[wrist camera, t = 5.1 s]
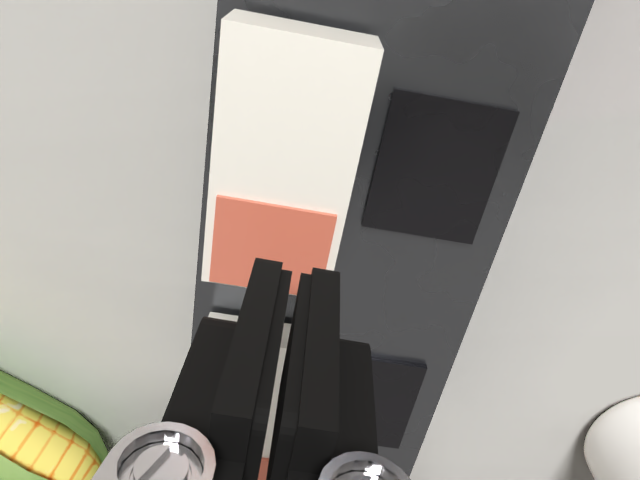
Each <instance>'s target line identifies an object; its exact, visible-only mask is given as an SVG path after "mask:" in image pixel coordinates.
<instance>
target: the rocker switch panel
mask: <svg viewBox="0 0 640 480" xmlns="http://www.w3.org/2000/svg"><path fill="white" fill-rule="evenodd" d="M593 3H594V0H218V3H217V16H216V29H215V42H214V55H213V68H212V81H211V94H210V107H209V120H208V133H207V146H206V159H205V172H204V185H203V198H202V211H201V224H200V237H199V249H198V262H197V275H196V288H195V301H194V314H193V327H192V340H191V344H192V342H193V339H194V337H195V334H196V331H197V329H198V326H199V324H200V322H201V319H202V318H203V317H204V316H205V317H208V316H209V313H210V312H216V313H222V314H229V315H236V316H239V313H240V310H241V306H242V303H243V299H244V296H245V292H246V289H247V288H244V287H238V286H232V285H225V284H219V283H212V282H206V281H201V276H202V263H203V250H204V237H205V224H206V211H207V198H208V185H209V172H210V159H211V146H212V133H213V120H214V107H215V94H216V81H217V68H218V55H219V42H220V29H221V19H222V18H223V17H224V16H226V15H227V14H228V13H230V12H231V11H232V10H233V9H239V10H245V11H250V12H255V13H260V14H266V15H271V16H276V17H281V18H286V19H292V20H297V21H302V22H307V23H313V24H318V25H323V26H328V27H333V28H339V29H344V30H349V31H354V32H360V33H365V34H370V35H375V36H378V37H379V39H380V42H381V44H382V46H383V48H384V53H383V57H382V61H381V66H380V70H379V75H378V79H377V83H376V88H375V92H374V97H373V101H372V105H371V110H370V114H369V119H368V123H367V127H366V132H365V136H364V141H363V145H362V149H361V154H360V158H359V163H358V167H357V171H356V176H355V180H354V185H353V189H352V193H351V198H350V202H349V207H348V211H347V215H346V220H345V224H344V229H343V233H342V237H341V242H340V246H339V251H338V255H337V259H336V264H335V268H334V271H338V272H340V339H345V340H351V341H357V342H363V343H369V345H370V348H371V358H372V373H373V387H374V401H375V415H376V429H377V443H378V455H380V456H382V457H384V458H387V459H389V460H390V461H392V462H393V463H394V464H396V465H397V466H398V467H400V468H401V469H402V470H403V471H404V472H405V473H406V475H407V476H408V477H409V476H410V474H411V471H412V468H413V466H414V463H415V461H416V458H417V456H418V453H419V450H420V448H421V445H422V443H423V440H424V438H425V435H426V432H427V430H428V427H429V425H430V422H431V420H432V417H433V414H434V412H435V409H436V407H437V404H438V402H439V399H440V396H441V394H442V391H443V389H444V386H445V384H446V381H447V378H448V376H449V373H450V371H451V368H452V365H453V363H454V360H455V358H456V355H457V353H458V350H459V347H460V345H461V342H462V340H463V337H464V335H465V332H466V329H467V327H468V324H469V322H470V319H471V317H472V314H473V311H474V309H475V306H476V304H477V301H478V299H479V296H480V293H481V291H482V288H483V286H484V283H485V281H486V278H487V275H488V273H489V270H490V268H491V265H492V263H493V260H494V257H495V255H496V252H497V250H498V247H499V245H500V242H501V239H502V237H503V234H504V232H505V229H506V227H507V224H508V221H509V219H510V216H511V214H512V211H513V208H514V206H515V203H516V201H517V198H518V196H519V193H520V190H521V188H522V185H523V183H524V180H525V178H526V175H527V172H528V170H529V167H530V165H531V162H532V160H533V157H534V154H535V152H536V149H537V147H538V144H539V142H540V139H541V136H542V134H543V131H544V129H545V126H546V124H547V121H548V118H549V116H550V113H551V111H552V108H553V106H554V103H555V100H556V98H557V95H558V93H559V90H560V88H561V85H562V82H563V80H564V77H565V75H566V72H567V70H568V67H569V64H570V62H571V59H572V57H573V54H574V51H575V49H576V46H577V44H578V41H579V39H580V36H581V33H582V31H583V28H584V26H585V23H586V21H587V18H588V15H589V13H590V10H591V8H592V5H593ZM295 302H296V295H290V294H289V295H288V302H287V308H286V314H285V320H284V323H288V324H291V323H292V318H293V312H294V307H295Z"/></svg>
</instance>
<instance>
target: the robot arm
mask: <svg viewBox="0 0 640 480" xmlns="http://www.w3.org/2000/svg"><path fill="white" fill-rule="evenodd" d="M282 265H283V262H279V261H273V260H267V259H262V258H255V261H254V265H253V268H252V272H251V275H250V278H249V282H248V285H247V289H246V292H245V296H244V299H243V303H242V306H241V310H240V313H239V316H238V320H237V322H235V321H229V320H223V319H217V318H211V317H205V316H204V317H203V318H202V319H201V322H200V324H199V326H198V329H197V331H196V334H195V337H194V339H193V342H192V344H191V347H190V349H189V352H188V355H187V357H186V360H185V362H184V365H183V367H182V370H181V373H180V375H179V378H178V380H177V383H176V385H175V388H174V391H173V393H172V396H171V398H170V401H169V403H168V406H167V409H166V411H165V414H164V416H163V419H162V421H161V422H157V423H150V424H148V425H145V426H142V427H139V428H136V429H134V430H133V431H131V432H130V433H128V434H127V435H125V436H123V437H122V438H121V439H120V440H119V441H118V442H117V444H116V445H115V446H114V447H113V448H112V449H111V451H110V452H109V453H108V455H107V456H106V458H105V459H104V461H103V462H102V464H101V465H100V467H99V468H98V470H97V471H96V473H95V474H94V476H93V477H92V479H91V480H258V475H259V470H260V464H261V459H262V453H263V448H264V442H265V437H266V431H267V426H268V420H269V414H270V408H271V402H272V395H273V389H274V383H275V377H276V370H277V364H278V358H279V352H280V345H281V339H282V333H283V327H284V320H285V314H286V308H287V302H288V295H289V289H290V283H291V277H292V271H289V270H283V269H282ZM266 480H411V479H410V478H409V477H408V476H407V475H406V473H405V472H404V471H403V470H402V469H401V468H400V467H398V466H397V465H396V464H394V463H393V462H392V461H390V460H389V459H387V458H384V457H382V456H380V455H378V443H377V429H376V415H375V401H374V387H373V373H372V358H371V348H370V345H369V343H363V342H357V341H351V340H345V339H340V272H338V271H332V270H326V269H320V268H314V267H313V269H312V273H311V274H306V273H301V275H300V280H299V286H298V291H297V296H296V302H295V307H294V312H293V318H292V323H291V328H290V334H289V339H288V344H287V349H286V355H285V360H284V365H283V371H282V376H281V382H280V388H279V394H278V401H277V408H276V415H275V422H274V429H273V435H272V442H271V449H270V456H269V463H268V469H267V476H266Z"/></svg>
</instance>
